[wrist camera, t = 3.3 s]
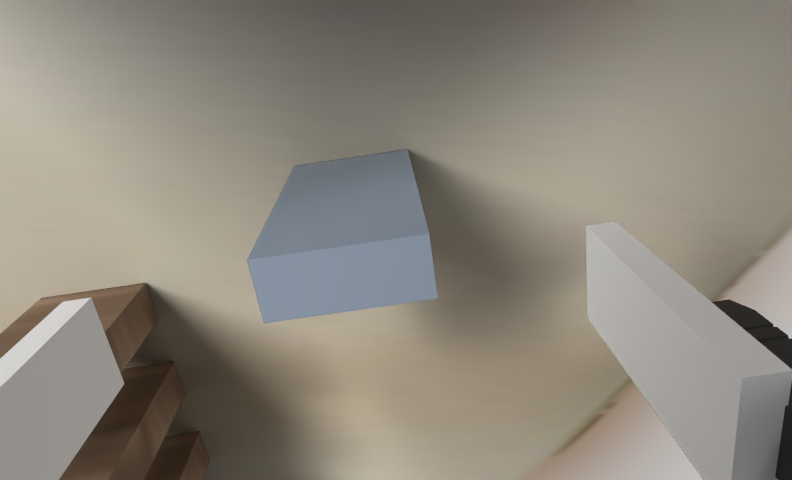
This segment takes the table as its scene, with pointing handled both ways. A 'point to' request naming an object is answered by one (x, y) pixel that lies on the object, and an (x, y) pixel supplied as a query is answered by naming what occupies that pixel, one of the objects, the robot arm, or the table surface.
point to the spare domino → (344, 240)
